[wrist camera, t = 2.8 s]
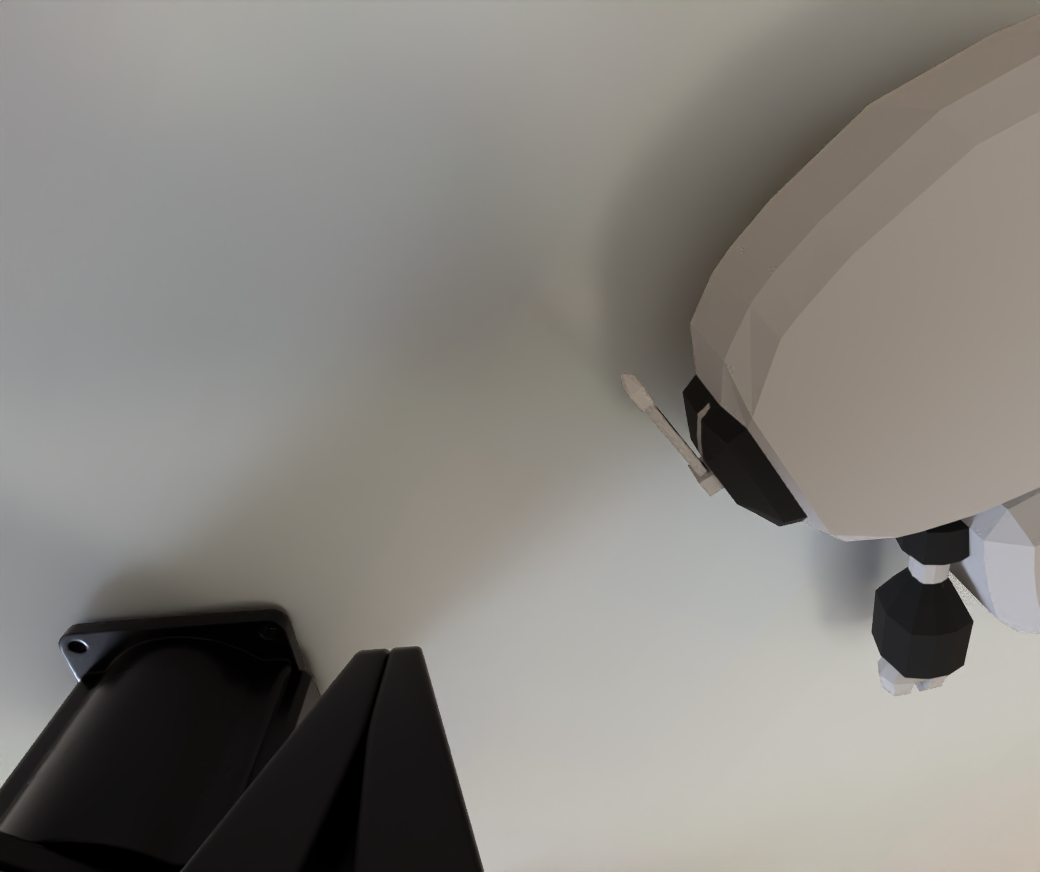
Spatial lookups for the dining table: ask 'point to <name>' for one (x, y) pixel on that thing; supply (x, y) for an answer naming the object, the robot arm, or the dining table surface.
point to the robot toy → (894, 352)
